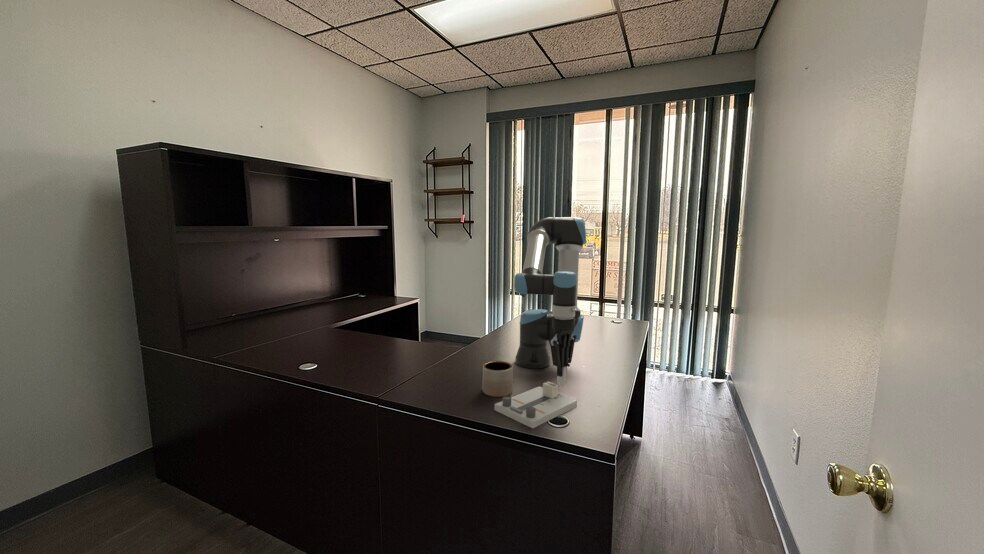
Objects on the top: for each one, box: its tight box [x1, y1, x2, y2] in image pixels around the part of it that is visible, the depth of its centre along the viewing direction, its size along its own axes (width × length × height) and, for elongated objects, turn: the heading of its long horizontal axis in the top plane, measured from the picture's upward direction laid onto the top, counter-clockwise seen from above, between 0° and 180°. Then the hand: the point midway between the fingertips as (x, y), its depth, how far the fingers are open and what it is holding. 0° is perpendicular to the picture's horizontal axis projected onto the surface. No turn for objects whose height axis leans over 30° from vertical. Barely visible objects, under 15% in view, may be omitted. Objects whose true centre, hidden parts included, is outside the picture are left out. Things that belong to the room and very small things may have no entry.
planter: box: [481, 360, 514, 398], centre depth 139 cm, size 11×11×10 cm
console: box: [494, 386, 578, 429], centre depth 126 cm, size 16×22×4 cm
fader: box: [542, 381, 559, 399], centre depth 131 cm, size 4×3×4 cm
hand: (561, 384), depth 135 cm, fingers closed
